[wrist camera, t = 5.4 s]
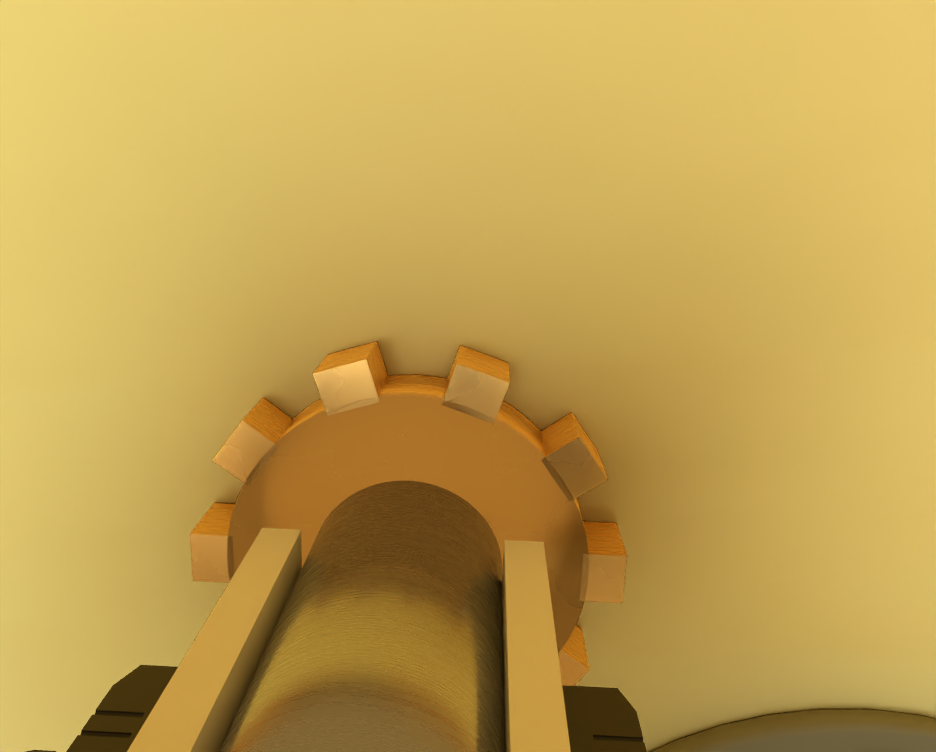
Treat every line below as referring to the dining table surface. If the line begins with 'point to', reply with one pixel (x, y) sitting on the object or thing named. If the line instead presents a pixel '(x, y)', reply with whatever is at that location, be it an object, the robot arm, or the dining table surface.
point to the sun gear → (404, 554)
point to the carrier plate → (817, 733)
